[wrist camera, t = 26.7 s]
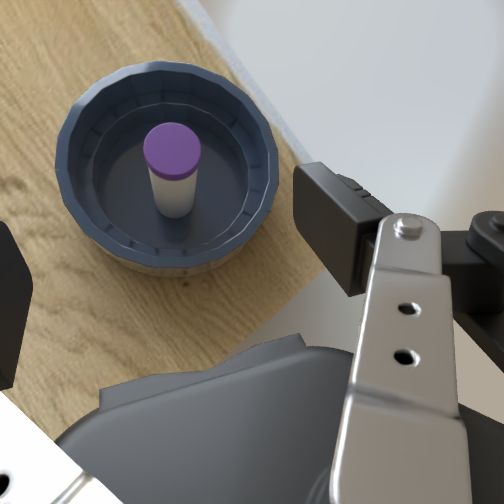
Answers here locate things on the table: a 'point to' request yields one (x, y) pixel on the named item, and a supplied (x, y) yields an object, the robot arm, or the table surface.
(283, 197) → the table surface
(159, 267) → the bowl
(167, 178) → the glue stick
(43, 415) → the table surface
